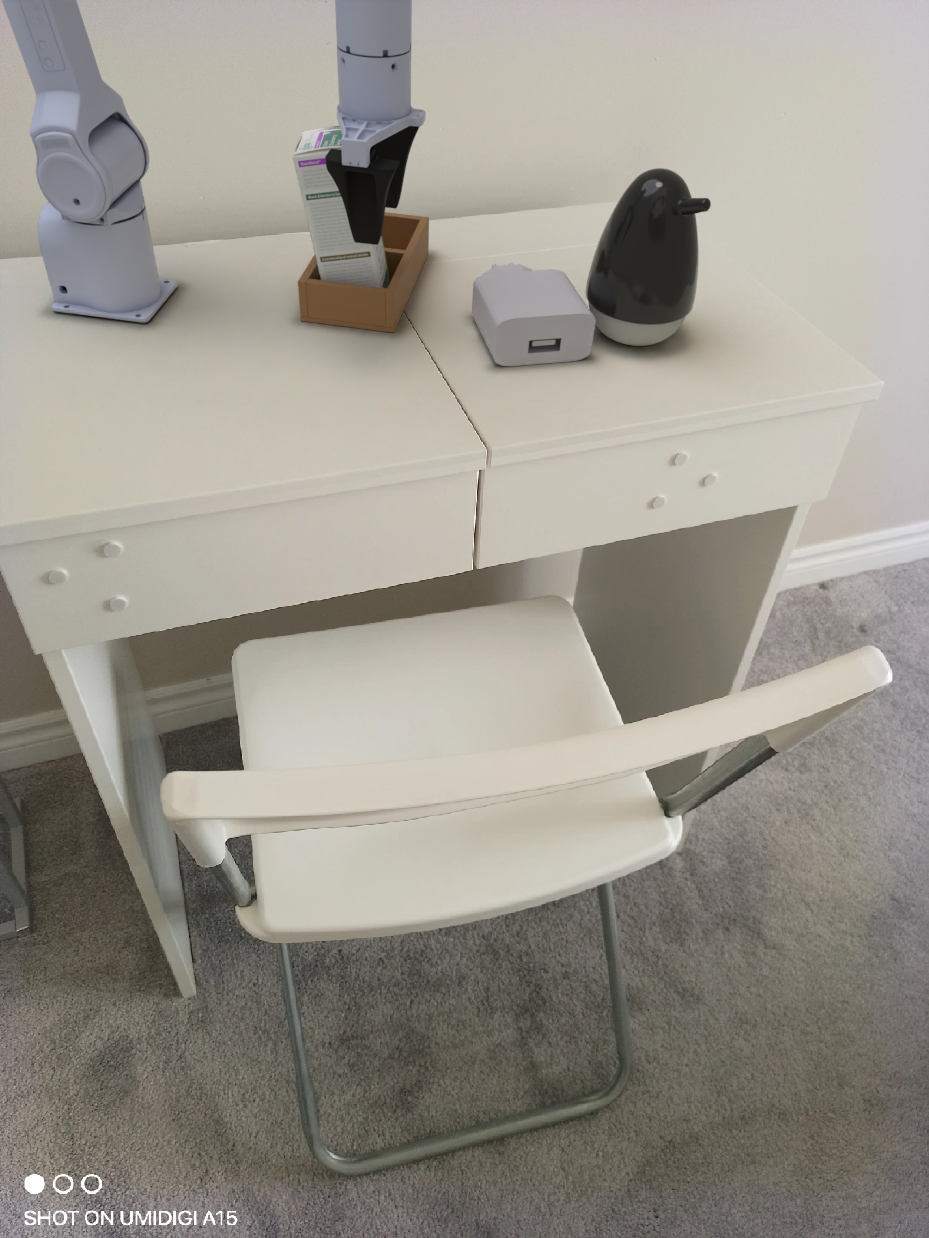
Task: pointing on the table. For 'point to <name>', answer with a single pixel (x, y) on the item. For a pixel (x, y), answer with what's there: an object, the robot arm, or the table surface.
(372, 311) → the divided box
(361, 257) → the syrup box
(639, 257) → the pump dispenser
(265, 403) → the table surface
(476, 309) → the charger
